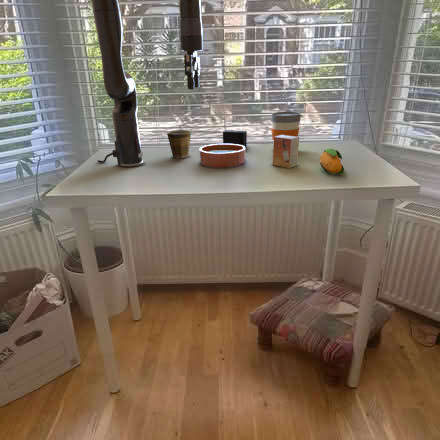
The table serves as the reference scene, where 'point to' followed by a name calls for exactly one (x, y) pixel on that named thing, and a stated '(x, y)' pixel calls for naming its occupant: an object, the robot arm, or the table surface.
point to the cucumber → (221, 151)
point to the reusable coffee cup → (285, 124)
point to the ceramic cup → (179, 143)
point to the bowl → (222, 155)
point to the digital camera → (235, 137)
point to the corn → (331, 161)
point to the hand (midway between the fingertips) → (193, 88)
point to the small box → (285, 151)
